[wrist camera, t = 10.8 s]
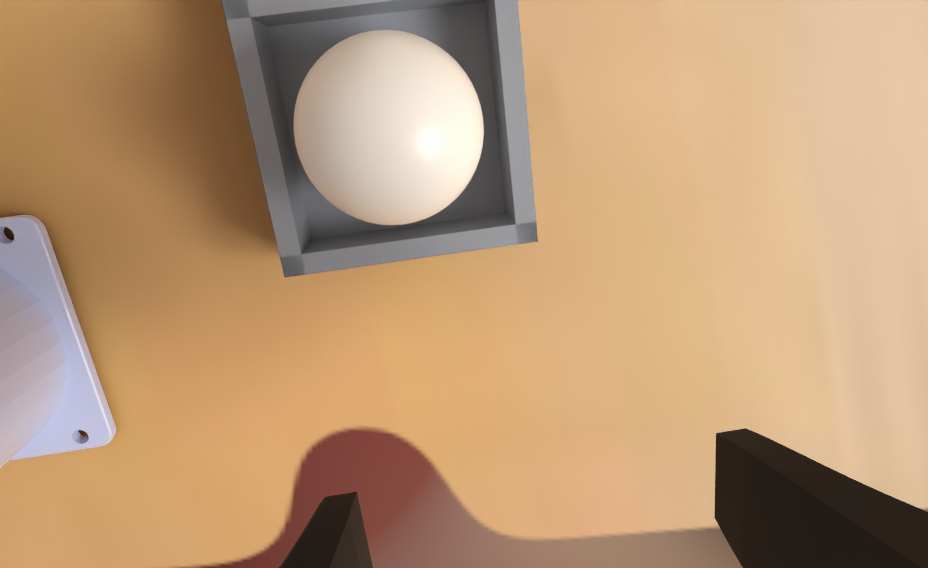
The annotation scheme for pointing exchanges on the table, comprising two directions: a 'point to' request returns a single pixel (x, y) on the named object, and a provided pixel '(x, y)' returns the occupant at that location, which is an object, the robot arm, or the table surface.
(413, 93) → the egg crate
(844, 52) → the table surface
